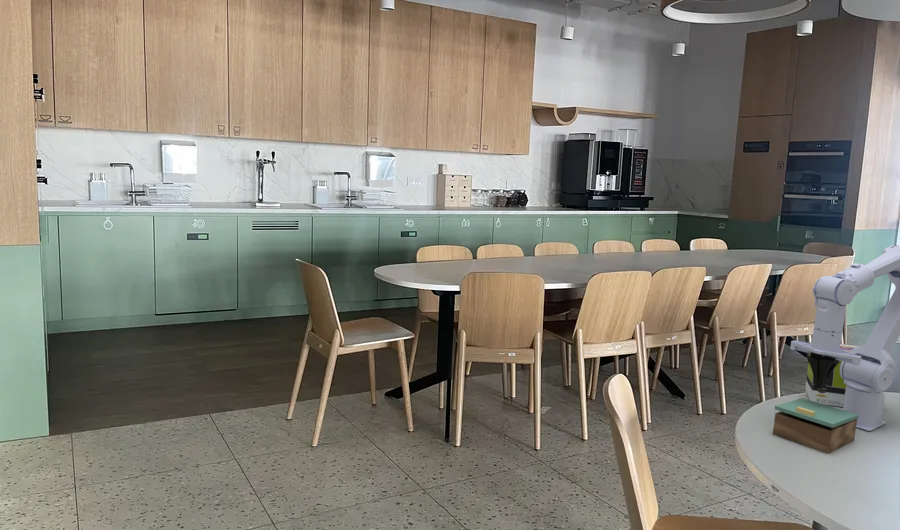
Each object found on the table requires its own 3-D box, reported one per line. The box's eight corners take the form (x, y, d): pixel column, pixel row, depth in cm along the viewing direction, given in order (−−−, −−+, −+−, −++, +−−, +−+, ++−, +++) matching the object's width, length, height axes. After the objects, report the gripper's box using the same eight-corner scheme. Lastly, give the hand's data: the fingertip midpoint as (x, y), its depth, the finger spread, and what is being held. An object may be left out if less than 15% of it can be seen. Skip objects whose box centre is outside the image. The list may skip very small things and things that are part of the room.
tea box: (866, 400, 180) (875, 346, 178) (875, 413, 171) (884, 356, 168) (803, 391, 185) (810, 338, 183) (808, 403, 176) (816, 348, 173)
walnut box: (799, 422, 162) (802, 402, 161) (854, 440, 152) (857, 419, 152) (772, 434, 154) (775, 413, 153) (828, 453, 144) (831, 431, 144)
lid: (802, 401, 161) (803, 393, 161) (859, 418, 152) (860, 410, 151) (774, 409, 153) (775, 401, 153) (832, 428, 143) (833, 419, 143)
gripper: (787, 324, 157) (779, 380, 159) (855, 339, 145) (845, 400, 148) (801, 321, 161) (794, 376, 163) (868, 335, 150) (859, 394, 152)
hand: (819, 387), depth 156 cm, fingers closed
